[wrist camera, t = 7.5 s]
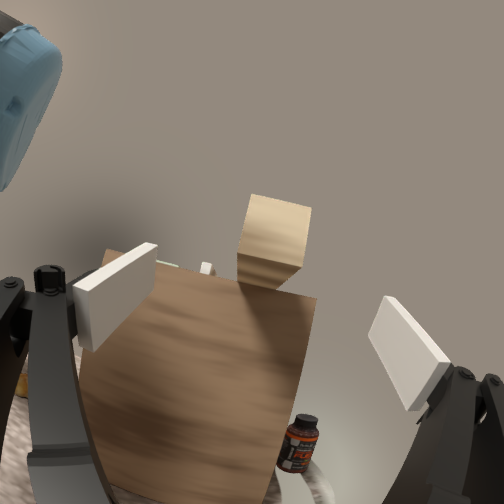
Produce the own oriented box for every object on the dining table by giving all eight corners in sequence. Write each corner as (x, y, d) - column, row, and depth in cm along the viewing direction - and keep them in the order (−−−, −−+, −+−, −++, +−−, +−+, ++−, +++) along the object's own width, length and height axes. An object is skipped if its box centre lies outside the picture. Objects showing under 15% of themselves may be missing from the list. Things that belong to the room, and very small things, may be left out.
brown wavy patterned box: (255, 520, 20) (318, 287, 28) (75, 466, 20) (109, 238, 28) (248, 457, 40) (286, 301, 48) (125, 424, 40) (156, 270, 48)
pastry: (45, 388, 38) (46, 373, 39) (54, 403, 34) (54, 387, 35) (7, 381, 31) (7, 364, 32) (11, 397, 27) (11, 379, 28)
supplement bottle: (289, 477, 33) (306, 424, 36) (268, 463, 38) (283, 412, 41) (313, 470, 36) (330, 420, 39) (292, 458, 41) (307, 410, 44)
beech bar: (302, 267, 16) (311, 207, 17) (237, 252, 16) (251, 193, 17) (259, 302, 47) (264, 280, 48) (237, 297, 47) (242, 275, 48)
